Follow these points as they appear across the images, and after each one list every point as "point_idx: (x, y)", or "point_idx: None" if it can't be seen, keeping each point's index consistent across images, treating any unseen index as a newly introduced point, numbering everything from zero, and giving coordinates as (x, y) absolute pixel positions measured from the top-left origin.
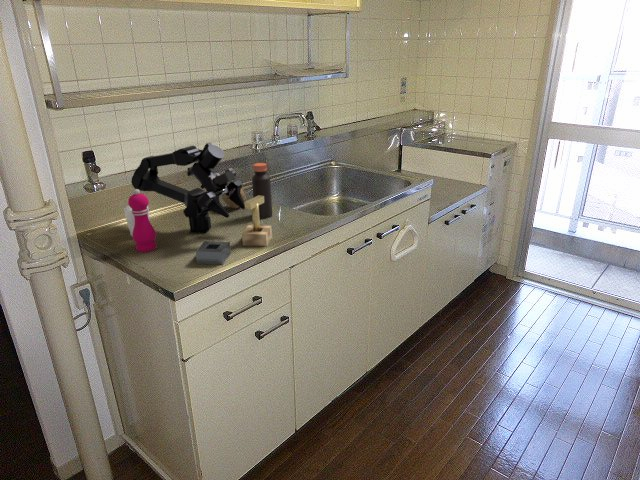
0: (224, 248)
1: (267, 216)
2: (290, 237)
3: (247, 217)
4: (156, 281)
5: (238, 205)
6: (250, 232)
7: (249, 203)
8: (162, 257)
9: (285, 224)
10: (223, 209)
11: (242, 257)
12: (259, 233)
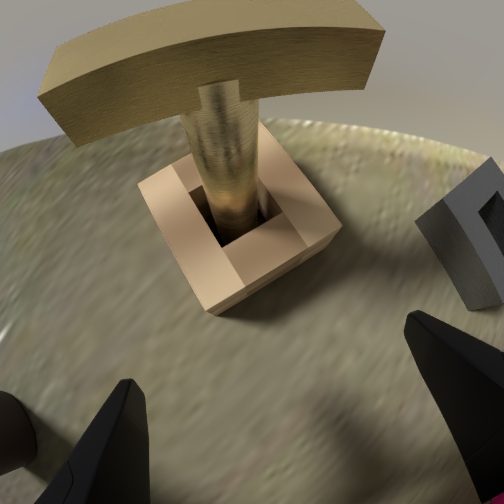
0: (476, 169)
1: (9, 396)
2: (128, 149)
3: None
4: None
5: (147, 462)
6: (293, 199)
7: (349, 3)
8: None
9: (25, 272)
10: (479, 348)
11: (397, 160)
12: (270, 151)
